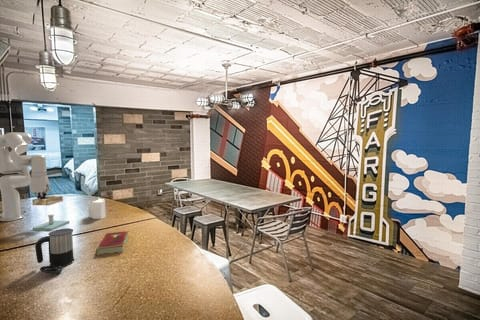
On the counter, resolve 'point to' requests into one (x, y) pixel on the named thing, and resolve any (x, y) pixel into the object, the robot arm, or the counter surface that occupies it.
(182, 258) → the counter surface
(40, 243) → the milk frother
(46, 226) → the lid with knob
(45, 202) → the ring
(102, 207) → the corner bracket
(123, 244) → the hardcover book
